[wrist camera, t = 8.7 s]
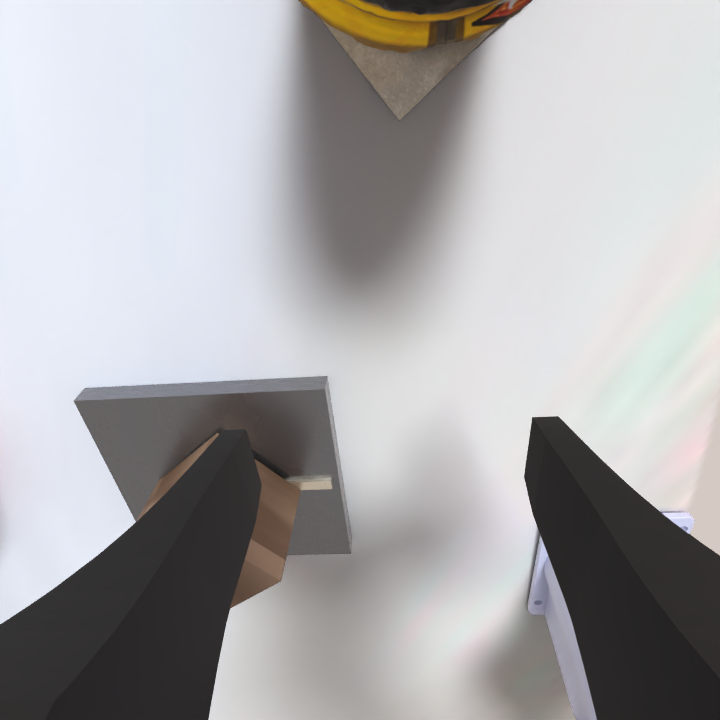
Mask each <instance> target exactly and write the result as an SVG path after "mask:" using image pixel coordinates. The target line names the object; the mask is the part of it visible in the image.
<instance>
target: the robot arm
mask: <svg viewBox="0 0 720 720" xmlns="http://www.w3.org/2000/svg"><path fill="white" fill-rule="evenodd" d="M524 478H525V482H526V487H527V491H528V496H529V500H530V504H531V508H532V512H533V516H534V518H535V521H536V524H537V527H538V530H539V532H540V539H539V545H538V550H537V556H536V561H535V567H534V572H533V578H532V584H531V589H530V595H529V600H528V611H529V613H530V614H532V615H545V617H546V621H547V624H548V628H549V631H550V635H551V638H552V642H553V645H554V649H555V652H556V656H557V659H558V663H559V666H560V670H561V673H562V677H563V680H564V684H565V687H566V691H567V694H568V698H569V701H570V705H571V708H572V710H573V713H574V715H575V718H576V720H720V556H719V555H718V554H717V553H715V552H714V551H712V550H711V549H709V548H708V547H706V546H705V545H703V544H702V543H700V542H699V541H698V540H697V539H695V538H694V537H693V536H691V535H690V532H691V529H692V527H693V525H694V522H695V520H694V519H693V517H692V516H691V514H690V513H687V512H670V513H661V512H660V511H658V510H657V509H656V508H655V507H654V506H652V505H651V504H650V503H649V502H648V501H646V500H645V499H644V498H643V497H642V496H641V495H639V494H638V493H637V492H636V491H635V490H634V489H633V488H631V487H630V486H629V485H628V484H627V483H626V482H625V481H624V480H623V479H622V478H620V477H619V476H618V475H617V474H616V473H615V472H614V471H613V470H612V469H611V468H610V467H609V466H608V465H606V464H605V463H604V462H603V461H602V460H601V459H600V458H599V457H598V456H597V455H596V454H595V453H594V452H593V451H592V450H591V449H590V448H589V447H588V446H587V445H586V444H585V443H584V442H583V441H582V440H581V439H580V438H579V437H578V436H577V435H576V434H575V433H574V432H573V431H572V430H571V429H570V428H569V427H568V426H567V425H566V424H565V423H564V422H563V421H562V420H561V419H560V418H559V417H558V416H556V417H532V424H531V431H530V439H529V446H528V453H527V460H526V468H525V475H524ZM261 487H262V484H261V480H260V477H259V473H258V470H257V466H256V463H255V459H254V455H253V452H252V448H251V445H250V441H249V438H248V434H247V431H246V429H239V430H223V431H222V432H221V433H220V434H219V435H218V436H217V437H216V439H215V440H214V441H213V442H212V443H211V444H210V445H209V446H208V447H207V448H206V450H205V451H204V452H203V453H202V454H201V455H200V456H199V457H198V459H197V460H196V461H195V462H194V463H193V464H192V465H191V466H190V467H189V469H188V470H187V471H186V472H185V473H184V474H183V475H182V476H181V477H180V478H179V479H178V480H177V482H176V483H175V484H174V485H173V486H172V487H171V488H170V489H169V490H168V491H167V492H166V493H165V494H164V495H163V496H162V497H161V498H160V499H159V500H158V501H157V502H156V503H155V504H154V505H153V506H152V507H151V508H150V509H149V510H148V511H147V512H146V513H145V514H144V515H143V516H142V517H141V518H140V519H139V520H138V521H137V522H136V523H135V524H134V525H133V526H131V527H130V528H129V529H128V530H127V531H126V532H125V533H124V534H122V535H121V536H120V537H119V538H118V539H117V540H115V541H114V542H113V543H112V544H111V545H110V546H108V547H107V548H106V549H105V550H104V551H102V552H101V553H100V554H99V555H98V556H96V557H95V558H94V559H93V560H91V561H90V562H89V563H87V564H86V565H85V566H83V567H82V568H81V569H79V570H78V571H77V572H75V573H74V574H73V575H71V576H70V577H69V578H67V579H66V580H65V581H63V582H62V583H61V584H59V585H58V586H57V587H55V588H54V589H53V590H51V591H50V592H48V593H47V594H46V595H44V596H43V597H41V598H40V599H38V600H37V601H35V602H34V603H32V604H31V605H30V606H28V607H27V608H25V609H23V610H22V611H20V612H19V613H17V614H16V615H14V616H13V617H11V618H10V619H8V620H7V621H5V622H4V623H2V624H0V720H208V718H209V712H210V706H211V700H212V695H213V689H214V684H215V678H216V672H217V667H218V662H219V657H220V652H221V647H222V642H223V637H224V632H225V627H226V622H227V618H228V614H229V610H230V607H231V603H232V600H233V596H234V593H235V590H236V587H237V583H238V580H239V577H240V573H241V570H242V567H243V563H244V560H245V557H246V553H247V550H248V547H249V543H250V540H251V537H252V533H253V530H254V526H255V523H256V518H257V512H258V506H259V500H260V494H261Z"/></svg>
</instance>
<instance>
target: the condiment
mask: <svg viewBox="0 0 720 720" xmlns="http://www.w3.org/2000/svg"><path fill="white" fill-rule="evenodd" d="M299 1H300V2H301V3H302V5H303V6H305V7H306V8H308V9H310V10H312V11H313V12H314V13H315V14H316V15H317V16H318V17H319V18H320V19H321V20H322V22H323V23H324V24H325V25H326V27H327V28H328V29H329V31H330V32H331V33H332V35H333V36H334V37H335V38H336V40H337V41H338V42H339V44H340V45H341V46H342V47H343V49H344V50H345V51H346V53H347V54H348V55H349V56H350V58H351V59H352V60H353V62H354V63H355V64H356V66H357V67H358V68H359V69H360V71H361V72H362V73H363V75H364V76H365V78H366V79H367V80H368V81H369V82H370V84H371V85H372V86H373V88H374V89H375V90H376V91H377V93H378V94H379V95H380V97H381V98H382V99H383V101H384V102H385V103H386V104H387V106H388V107H389V108H390V110H391V111H392V112H393V113H394V115H395V116H396V117H397V119H398V120H399V121H400V120H401V119H402V118H403V117H404V116H405V115H406V114H407V113H408V112H409V111H410V110H411V109H412V108H413V107H415V106H416V105H417V104H418V103H419V102H420V101H421V100H422V99H423V98H424V97H425V96H426V95H427V94H428V93H429V92H430V91H431V90H432V89H433V88H434V87H435V86H436V85H437V84H438V83H439V82H440V81H441V80H442V79H443V78H444V77H446V76H447V75H448V74H449V73H450V72H451V71H452V70H453V69H454V68H455V67H456V66H457V65H458V64H459V63H460V62H461V61H462V60H463V59H464V58H465V57H466V56H467V55H468V54H469V53H471V52H472V51H473V50H474V49H475V48H476V47H477V46H478V45H479V44H480V43H481V42H482V41H483V40H484V39H485V38H486V37H487V36H488V35H489V34H490V33H491V32H492V31H494V30H495V29H496V28H497V27H498V26H500V25H501V24H502V23H504V22H505V21H506V20H507V19H509V18H510V17H512V16H514V15H515V14H517V13H519V12H520V11H521V10H522V8H523V7H524V6H526V5H527V4H529V3H530V2H531V1H532V0H299Z"/></svg>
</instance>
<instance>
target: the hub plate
mask: <svg viewBox="0 0 720 720" xmlns="http://www.w3.org/2000/svg"><path fill="white" fill-rule="evenodd" d="M74 402H75V404H76V406H77V408H78V410H79V412H80V414H81V416H82V418H83V420H84V422H85V424H86V426H87V428H88V430H89V432H90V434H91V435H92V437H93V439H94V441H95V443H96V445H97V447H98V449H99V451H100V453H101V455H102V457H103V459H104V461H105V463H106V465H107V466H108V468H109V470H110V472H111V474H112V476H113V478H114V480H115V482H116V484H117V486H118V488H119V490H120V492H121V494H122V496H123V497H124V499H125V501H126V503H127V505H128V507H129V509H130V511H131V513H132V515H133V517H134V519H135V521H136V522H137V520H138V518H139V516H140V514H141V512H142V510H143V509H144V507H145V505H146V503H147V501H148V499H149V497H150V495H151V494H152V492H153V490H154V488H155V486H156V484H157V482H158V481H159V480H160V479H162V478H163V477H164V476H165V475H167V474H168V473H169V472H170V471H171V470H173V469H174V468H175V467H176V466H177V465H179V464H180V463H181V462H182V461H184V460H185V459H186V458H187V457H188V456H190V455H191V454H192V453H193V452H194V451H196V450H197V449H198V448H199V447H201V446H202V445H203V444H204V443H205V442H207V441H208V440H209V439H210V438H212V437H213V436H214V435H215V434H216V433H218V434H220V433H221V432H222V431H223V430H239V429H246V431H247V434H248V438H249V441H250V445H251V448H252V452H253V455H254V459H256V460H257V461H259V462H260V463H262V464H263V465H264V466H266V467H267V468H269V469H270V470H272V471H273V472H275V473H276V474H277V475H279V476H280V477H282V478H283V479H285V480H286V481H287V482H289V483H290V484H292V485H293V486H295V487H296V488H298V489H299V490H300V496H299V500H298V505H297V510H296V514H295V519H294V523H293V528H292V533H291V537H290V542H289V547H288V551H287V555H305V554H351V544H352V537H351V530H350V524H349V517H348V511H347V504H346V497H345V491H344V484H343V478H342V471H341V464H340V458H339V451H338V445H337V438H336V431H335V425H334V418H333V412H332V405H331V398H330V392H329V385H328V379H327V376H324V377H304V378H284V379H264V380H244V381H223V382H203V383H183V384H163V385H143V386H122V387H102V388H85V389H84V390H83V391H82V392H81V393H80V394H79V395H78V397H77V398H76V399H75V400H74Z"/></svg>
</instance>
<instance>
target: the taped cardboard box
mask: <svg viewBox="0 0 720 720" xmlns="http://www.w3.org/2000/svg"><path fill="white" fill-rule="evenodd" d="M218 435H219V434H218V433H216V434H215V435H214V436H213V437H212V438H210V439H209V440H208V441H207V442H205V443H204V444H203V445H202V446H201V447H199V448H198V449H197V450H196V451H194V452H193V453H192V454H191V455H190V456H188V457H187V458H186V459H185V460H184V461H182V462H181V463H180V464H179V465H177V466H176V467H175V468H174V469H173V470H171V471H170V472H169V473H168V474H167V475H165V476H164V477H163V478H162V479H160V480H159V481H158V482H157V484H156V486H155V488H154V490H153V492H152V494H151V495H150V497H149V499H148V501H147V503H146V505H145V507H144V509H143V510H142V512H141V514H140V516H139V518H138V520H139V519H140V518H141V517H142V516H143V515H144V514H145V513H146V512H147V511H148V510H149V509H150V508H151V507H152V506H153V505H154V504H155V503H156V502H157V501H158V500H159V499H160V498H161V497H162V496H163V495H164V494H165V493H166V492H167V491H168V490H169V489H170V488H171V487H172V486H173V485H174V484H175V483H176V482H177V480H178V479H179V478H180V477H181V476H182V475H183V474H184V473H185V472H186V471H187V470H188V469H189V467H190V466H191V465H192V464H193V463H194V462H195V461H196V460H197V459H198V457H199V456H200V455H201V454H202V453H203V452H204V451H205V450H206V448H207V447H208V446H209V445H210V444H211V443H212V442H213V441H214V440H215V439H216V437H217V436H218ZM255 463H256V466H257V470H258V473H259V477H260V480H261V484H262V487H261V494H260V500H259V506H258V512H257V518H256V523H255V526H254V530H253V533H252V537H251V540H250V543H249V547H248V550H247V553H246V557H245V560H244V563H243V567H242V570H241V573H240V577H239V580H238V583H237V587H236V590H235V593H234V596H233V600H232V603H231V607H230V608H232V607H234V606H235V605H237V604H239V603H241V602H243V601H245V600H247V599H249V598H250V597H252V596H254V595H256V594H258V593H260V592H262V591H263V590H265V589H267V588H269V587H271V586H273V585H275V584H276V583H278V582H280V581H281V579H282V574H283V570H284V565H285V560H286V556H287V551H288V547H289V542H290V537H291V533H292V528H293V523H294V519H295V514H296V510H297V505H298V500H299V496H300V490H299V489H298V488H296V487H295V486H293V485H292V484H290V483H289V482H287V481H286V480H285V479H283V478H282V477H280V476H279V475H277V474H276V473H275V472H273V471H272V470H270V469H269V468H267V467H266V466H264V465H263V464H262V463H260V462H259V461H257V460H256V459H255ZM138 520H137V521H138Z"/></svg>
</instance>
